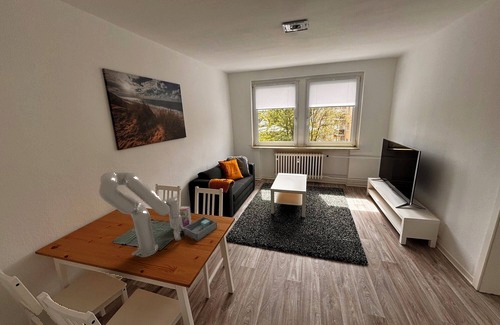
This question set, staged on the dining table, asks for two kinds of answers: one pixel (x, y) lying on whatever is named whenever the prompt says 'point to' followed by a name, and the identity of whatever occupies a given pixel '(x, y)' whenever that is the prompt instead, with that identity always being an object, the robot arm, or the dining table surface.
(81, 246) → the dining table surface
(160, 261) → the dining table surface
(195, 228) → the tote
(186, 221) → the candy bar box
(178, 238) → the white cylinder
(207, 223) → the teal cube
